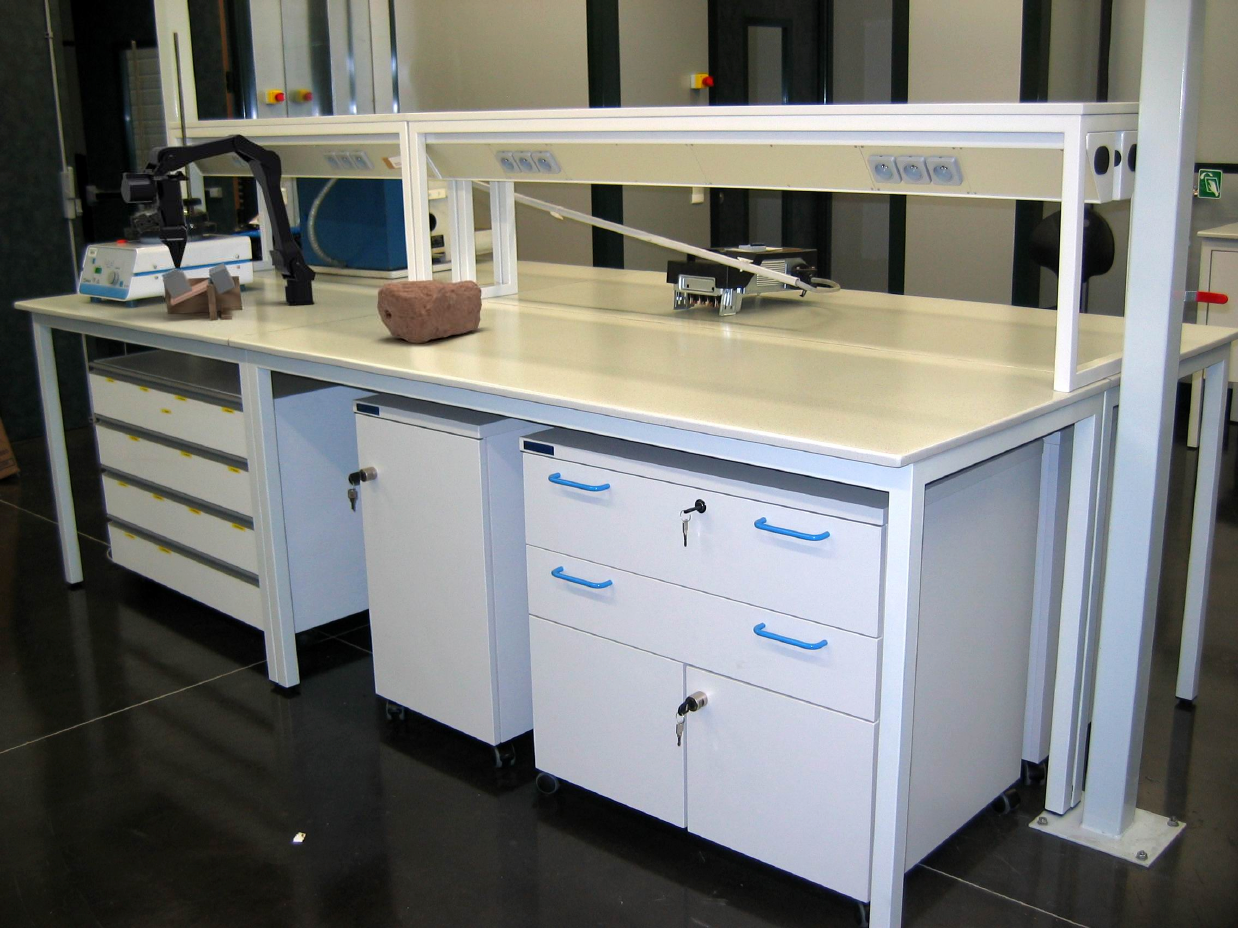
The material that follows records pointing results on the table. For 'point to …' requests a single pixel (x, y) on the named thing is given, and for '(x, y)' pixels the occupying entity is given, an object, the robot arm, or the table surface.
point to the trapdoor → (210, 283)
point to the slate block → (176, 283)
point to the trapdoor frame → (208, 300)
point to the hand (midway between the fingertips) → (178, 266)
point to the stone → (429, 308)
